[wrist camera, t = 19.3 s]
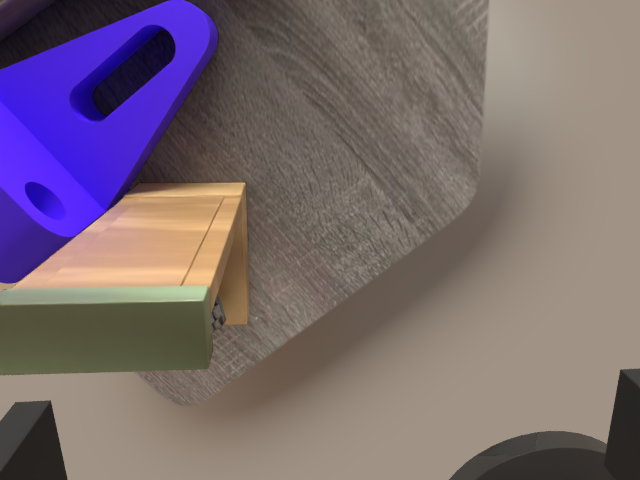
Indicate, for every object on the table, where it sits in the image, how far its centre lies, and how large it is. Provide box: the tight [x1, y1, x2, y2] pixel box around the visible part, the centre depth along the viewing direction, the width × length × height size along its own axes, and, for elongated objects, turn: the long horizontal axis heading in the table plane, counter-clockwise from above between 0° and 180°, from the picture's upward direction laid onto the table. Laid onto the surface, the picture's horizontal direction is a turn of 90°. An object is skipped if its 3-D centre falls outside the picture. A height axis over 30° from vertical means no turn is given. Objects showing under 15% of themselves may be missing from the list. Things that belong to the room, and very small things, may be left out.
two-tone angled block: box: [0, 183, 250, 375], centre depth 31 cm, size 10×8×22 cm
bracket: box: [0, 0, 218, 283], centre depth 32 cm, size 18×11×12 cm, turn 127°
